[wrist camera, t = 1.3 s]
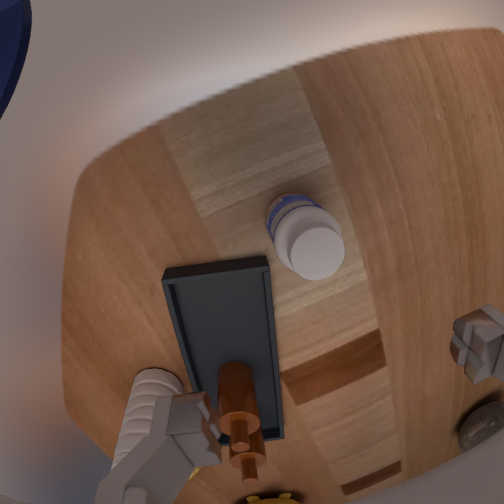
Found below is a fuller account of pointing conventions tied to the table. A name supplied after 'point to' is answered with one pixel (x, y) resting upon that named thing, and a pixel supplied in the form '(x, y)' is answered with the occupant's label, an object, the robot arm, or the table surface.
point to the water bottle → (143, 408)
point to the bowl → (481, 425)
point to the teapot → (273, 500)
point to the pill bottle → (305, 236)
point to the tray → (228, 329)
